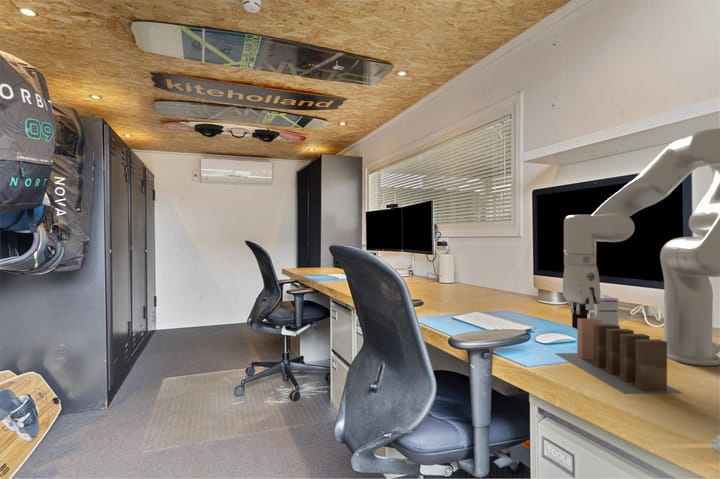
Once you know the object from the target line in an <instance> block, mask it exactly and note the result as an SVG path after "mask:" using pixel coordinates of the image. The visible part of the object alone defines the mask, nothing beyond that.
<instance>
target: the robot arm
mask: <svg viewBox="0 0 720 479" xmlns="http://www.w3.org/2000/svg"><path fill="white" fill-rule="evenodd" d="M705 166H709V167H710V169H711V172H712V175H713V176H712V182H711V185H710V186H709V188H708V190H707V191H706V193H705V194H704V195H703V197H702V198H701V200H700V201H699V203H698V205H697V206H696V208H694V210H693V212H692V213H691V215H690V217H689V220H688V228H689V229H690V231H691V232H692V233H693V234H695V235H697V236H682V237H677V238H673V239H670V240H669V241H667V242H666V243H665V244H664V245H663V247H662V248H661V250H660V253H659V254H660V255H659V259H660V265H661V269H662V275H663V284H664V288H663V290H664V291H663V292H664V293H663V294H664V297H663V301H664V302H663V310H664V311H663V315H664V316H663V322H664V323H663V325H664V327H663V331H664V332H663V335H664V336H663V341H666V342H667V360H671V361H674V362H678V363H682V364H687V365H696V366H706V367H710V366H713V367H714V366H718V365H720V357H719V356H718V355H717V354H718V353H720V344H717V343H716V342H713V311H714V309H713V304H714V303H713V301H714V294H713V293H714V292H713V286H712V282H711V280H710V278H709V277H711V278H720V128H719V127H718V128H711V129H704V130H699V131H697V132H694V133H691V134H688V135H686V136H682V137H680V138H677V139H675V140H674V141H672V142H671V143H669V144H668V145H667V146H666V147H665V148H664V149H662V151H660V153H659V154H658V155H657V156H656V157H655V158H654V159H653V160H652V161H651V162H650V163H648V165H647V166H646V167H645V168H644V169H643V170H642V171H641V172H640V173H639V174H638V175H637V176H636V177H635V178H634V179H633V180H631V181H630V182H628V183H627V184H625V185H624V186H623V187H622V188H621V189H619V190H618V191H617V192H615V193H614V194H613V195H611V196H610V197H609V198H607V200H605V201H604V202H603V203H602V204H601V205H600V206H598V208H596V210H595V211H594V212H593V213H592V214H571V215H567V216H566V217H565V218H564V220H563V265H564V267H563V268H564V269H563V276H562V296H563V298H564V299H565V300H566V303H567V304H568V305H569V306H570V311H571V312H570V313H571V318H572V319H571V320H572V321H571V323H572V324H571V327H572V328H573V329H576V330H577V319H588V315H590V310H594V304H599V303H600V300H601V296H600V295H601V282H600V275H599V270H598V269H599V268H598V266H597V242H608V243H617V242H618V243H619V242H623V241H626V240H627V239H629V238H630V237H631V236H632V235H633V234H634V232H635V227H636V226H635V223H634V221H633V220H632V218H631V217H630V216H633V215H634V214H636V213H637V212H639V211H641V210H643V209H645V208H648V207H650V206H653V205H655V204H657V203H659V202H660V201H662V200H664V199H665V198H667V197H668V196H669V195H670V194H671V193H672V192H674V190H675V189H676V188H677V187H678V186H679V185H680V184H681V183H682V182H683V181H684V180H685V179H686V178H687V177H689V175H691V173H692V172H693V171H695V170H696V169H698V168H701V167H705Z"/></svg>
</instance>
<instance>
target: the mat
mask: <svg viewBox="0 0 720 479" xmlns="http://www.w3.org/2000/svg"><path fill="white" fill-rule="evenodd" d="M554 355H556V356H558V357H560V358H562V359H563V360H566V362H569V363H570V364H572V365H573V366H576V367H577V368H579V369H580V370H583V371H584V372H585V373H587V374H589V375H591V376H592V377H595V378H596V379H598V380H600V381H601V382H604V383H605V384H607V385H609V387H611V388H613V389H616V390H617V391H619V392H620V393H622V394H624V395H627V394H628V395H631V394H632V395H634V394H635V395H639V394H640V395H642V394H644V395H646V394H650V395H651V394H684V392H683V391H680V390H678V389H677V388H674V387H672V386H670V385H668V384H667V391H641V390H640V389H638V388H636V387H635V383H626V382H624V381H623V380H621V379H620V375H611V374H609V373H607V372H606V368H598V367H596V366H594V359H581V358H579V357H577V352H567V353H565V352H561V353H559V352H554Z"/></svg>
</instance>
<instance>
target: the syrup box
mask: <svg viewBox="0 0 720 479" xmlns="http://www.w3.org/2000/svg"><path fill="white" fill-rule="evenodd" d="M600 296H601V300H600V303H599V304H594V310H589V318H596V319H599V320H601V324H615V325H618V326H620V325H619V322H620V321H619V320H620V319H619V297H615V296H613V295H609V294H608V295H607V294H600Z"/></svg>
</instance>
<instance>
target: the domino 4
mask: <svg viewBox="0 0 720 479" xmlns="http://www.w3.org/2000/svg"><path fill="white" fill-rule="evenodd" d="M639 339H651V338H650V335H648V334H644V333H634V334H620V379H621V380H623V381H624V382H626V383H635V355H636V340H639Z"/></svg>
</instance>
